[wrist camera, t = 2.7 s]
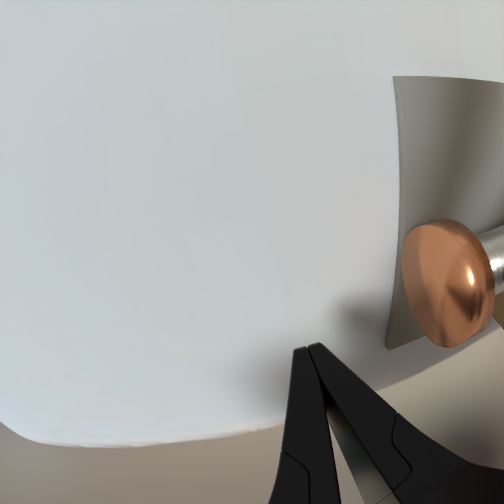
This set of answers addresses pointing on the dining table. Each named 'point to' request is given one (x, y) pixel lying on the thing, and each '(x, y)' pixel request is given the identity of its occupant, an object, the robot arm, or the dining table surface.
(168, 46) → the dining table surface
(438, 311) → the pin
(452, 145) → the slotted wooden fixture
